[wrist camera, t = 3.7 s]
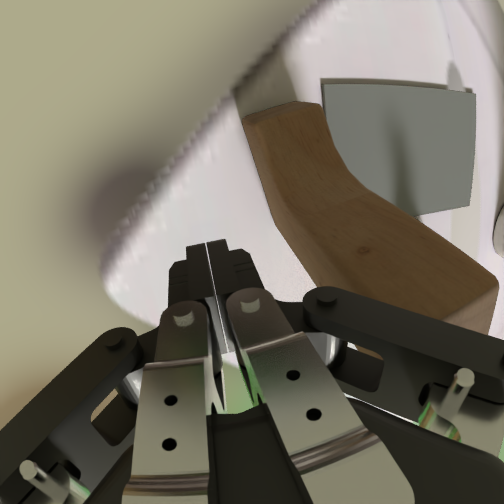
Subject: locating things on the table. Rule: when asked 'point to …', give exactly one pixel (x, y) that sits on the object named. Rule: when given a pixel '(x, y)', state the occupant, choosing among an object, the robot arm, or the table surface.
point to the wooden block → (359, 226)
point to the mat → (406, 142)
